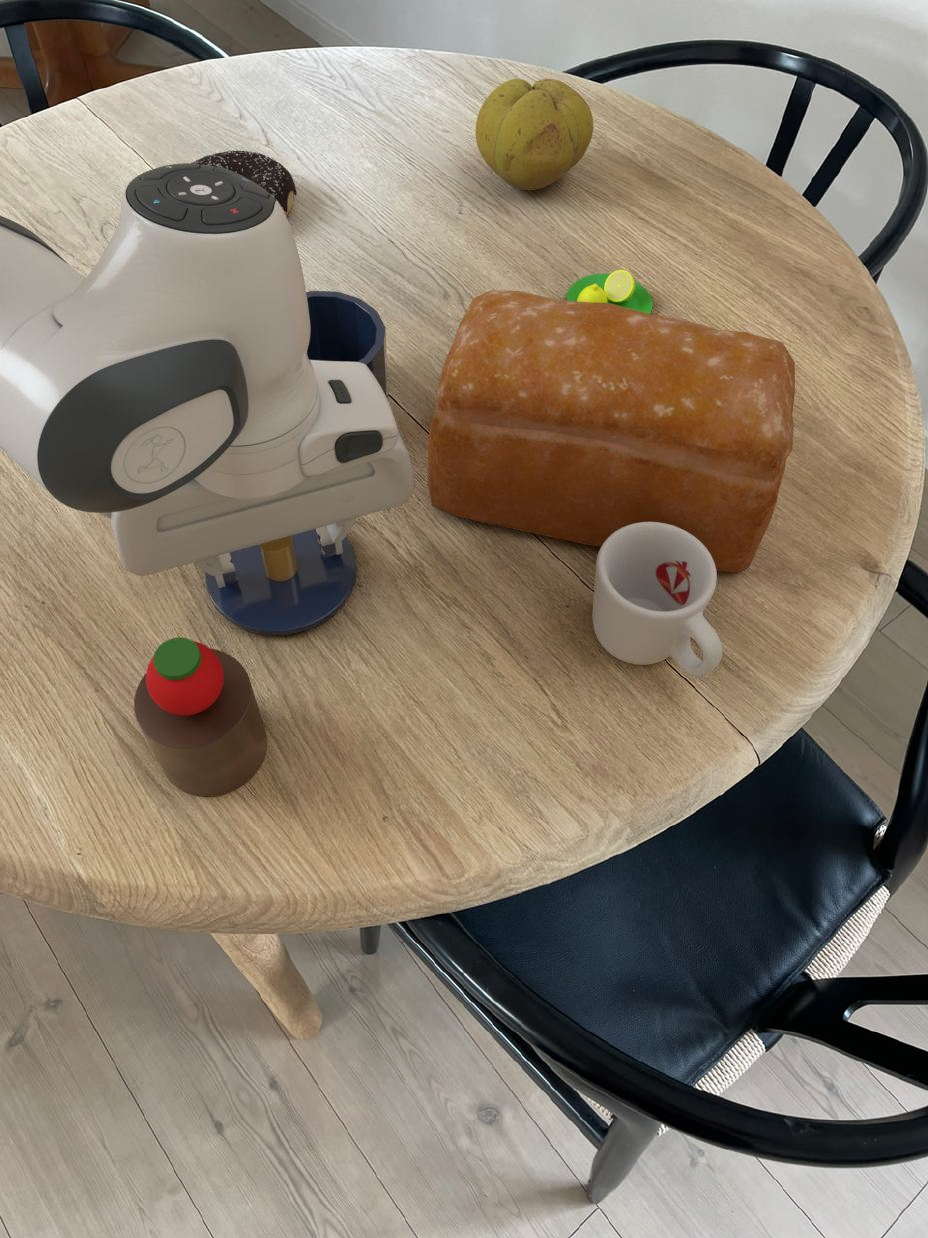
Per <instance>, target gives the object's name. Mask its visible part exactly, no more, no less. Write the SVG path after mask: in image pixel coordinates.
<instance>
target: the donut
mask: <svg viewBox="0 0 928 1238" xmlns="http://www.w3.org/2000/svg"><path fill="white" fill-rule="evenodd" d="M190 163H197V164H199V165H208V166H214V167H222V168H225V169H228V170H230V171H233V172H235V173H237V174H239V175H242V176H243V177H245V178H247V179H249V180H251V181H252V182H254V183H256V184H257V185H259V186H260V187H262V188H263V189H264V190H266V191H267V192H268V193H270V194H271V195H272V196H273V197H275V199H276V200H277V201H278V203H279V204H280V206H281V208H282V209H283V212H284V214H285V216H286V217H287V216H288V214H289V213H290V211H291V210H292V207H293V204H294V202H295V197H296V196H297V193H298V192H297V187H296V183H295V181H294V178H293V176H292V174H291V173H290V171H289V170H288V169H287V168H286V167H285V166H284V164H282V163H280V162H278V161H277V160H276V159H274V157H272V158H271V157H269V156H268V155H265V154H263V153H261V152H257V151H253V150H252V151H248V150H241V149H240V150H227V151H220V152H215V153H212V154H209V155H204V156H202V157H200V158H199V159H195V161H192V162H190Z"/></svg>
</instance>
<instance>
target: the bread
mask: <svg viewBox="0 0 928 1238" xmlns="http://www.w3.org/2000/svg"><path fill="white" fill-rule="evenodd" d="M795 364H796V362H795V360H794V358H793V357H792V355H791V354H790V352H789V351H788V348H787V347H786V345H785V343H784V342H783V341H780V340H776V339H772V338H768V337H765V336H762V335H761V336H760V335H757V334H752V333H750V332H747V331H739V330H738V331H737V330H728V329H718V328H714V327H711V326H707V325H705V324H702V323H698V322H694V321H691V320H688V319H684V318H679V317H671V316H665V315H659V314H651V313H650V314H648V313H644V312H641V311H637V310H633V309H629V308H625V307H622V306H618V305H614V304H610V303H596V302H579V301H567V299H566V300H565V299H555V298H551V297H547V296H542V295H539V294H535V293H530V292H527V291H526V292H525V291H521V290H495V289H494V290H489V291H486V292H484V293H482V294H480V295H478V296H476V297H474V298H473V299H472V300H471V302H470V304H469V305H468V308H467V309H466V312H465V313H464V315H463V317H462V319H461V321H460V323H459V325H458V328H457V330H456V333H455V335H454V338H453V341H452V343H451V346H450V349H449V350H448V353H447V356H446V358H445V360H444V363H443V367H442V369H441V370H442V371H441V373H440V377H439V379H438V380H439V381H438V384H437V388H436V391H435V399H436V404H435V409H434V412H433V417H432V421H431V424H430V429H429V432H428V438H427V488H428V495H429V499H430V503H431V506H432V507H433V508H435V509H437V510H439V511H443V512H445V513H448V514H451V515H453V516H456V517H459V518H464V519H468V520H471V521H475V522H480V523H484V524H488V525H494V526H497V527H498V526H499V527H502V528H508V529H511V530H517V531H521V532H526V533H531V534H535V535H540V536H545V537H550V538H554V539H559V540H563V541H567V542H568V541H569V542H573V543H578V544H582V545H588V546H594V547H598V548H599V547H600V548H601V547H602V545H603V543H604V542H605V541H606V539H607V538H608V537H609V536H610V535H612V534H613V533H614V532H616V531H617V530H619V529H621V528H623V527H625V526H628V525H631V524H635V523H640V522H659V523H665V524H669V525H673V526H675V527H678V528H680V529H683V530H685V531H686V532H688V533H690V534H691V535H693V536H694V537H696V538H697V539H698V540H699V541H700V542H701V543H702V544H703V545H704V546H705V547H706V548H707V550H708V551H709V553H710V554H711V556H712V558H713V560H714V563H715V567H716V572H717V571H719V572H726V573H728V572H729V573H736V574H737V573H739V572H741V571H742V570H744V569H747V568H749V567H750V566H751V564H752V562H753V560H754V557H755V555H756V553H757V551H758V549H759V546H760V544H761V542H762V540H763V539H764V536H765V534H766V531H767V529H768V527H769V525H770V523H771V520H772V518H773V515H774V514H773V513H774V511H775V507H776V504H777V501H778V497H779V491H780V489H781V484H782V479H783V477H784V474H785V470H786V465H787V464H786V463H787V459H788V457H789V456H790V454H791V452H792V450H793V445H794V426H795V424H794V418H793V414H794V413H793V411H794V402H795V396H796V395H795V394H796V365H795Z"/></svg>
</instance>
